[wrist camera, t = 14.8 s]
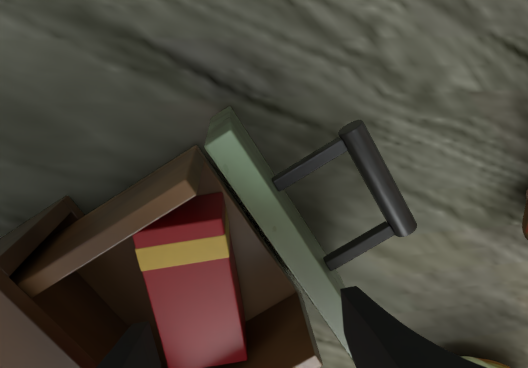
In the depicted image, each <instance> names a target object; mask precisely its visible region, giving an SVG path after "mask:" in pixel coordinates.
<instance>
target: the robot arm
mask: <svg viewBox="0 0 528 368" xmlns="http://www.w3.org/2000/svg"><path fill="white" fill-rule="evenodd" d="M340 292H341V304H342V316H343V328H344V335H345V338H346V341H347V344H348V347H349V350H350V353H351V356H352V359H353V361H354V363H355V365H356V368H487V367H484V366H482V365H479V364H476V363H474V362H472V361H469V360H467V359H465V358H462V357H460V356H458V355H456V354H454V353H452V352H450V351H448V350H445V349H444V348H442V347H440V346H438V345H436V344H434V343H432V342H431V341H429V340H427V339H426V338H424V337H422V336H420V335H419V334H417V333H416V332H414V331H412V330H411V329H410V328H408V327H407V326H405V325H404V324H402V323H401V322H400V321H398V320H397V319H396V318H394V317H393V316H392V315H390V314H389V313H388V312H387V311H385V310H384V309H383V308H382V307H380V306H379V305H378V304H377V303H376V302H374V301H373V300H372V299H371V298H370V297H369V296H367V295H366V294H365V293H364V292H363V291H362V290H361V289H359V288H358V287H357V286H354V287H348V288H342V289H340ZM96 368H161V363H160V359H159V355H158V352H157V348H156V345H155V341H154V338H153V334H152V331H151V327H150V324H149V321H146V322H140V323H134V324H132V325H131V326H130V327H129V328H128V329H127V331H126V332H125V333H124V334H123V336H122V337H121V338H120V339H119V341H118V342H117V343H116V344H115V346H114V347H113V348H112V349H111V350H110V352H109V353H108V354H107V355H106V356H105V358H104V359H103V360H102V361H101V362H100V364H99V365H98V366H97V367H96Z"/></svg>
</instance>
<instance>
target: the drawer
mask: <svg viewBox="0 0 528 368" xmlns="http://www.w3.org/2000/svg"><path fill="white" fill-rule="evenodd" d="M338 134H339V137H340V138H341V139H340V138H339V137H337V138H336V139H334V140H333V141H331V142H329V143H328V144H326V145H324V146H323V147H321V148H320V149H318V150H316V151H315V152H313V153H311V154H310V155H308V156H307V157H305V158H303V159H302V160H300V161H298V162H297V163H295V164H294V165H292V166H290V167H289V168H287V169H285V170H284V171H282V172H280V173H279V174H277V175H276V176H275V175H274V173H273V172H272V170H271V169H270V167H269V166H268V164H267V163H266V161H265V159H264V158H263V156H262V155H261V153H260V152H259V150H258V149H257V147H256V145H255V144H254V142H253V141H252V139H251V138H250V136H249V135H248V133H247V131H246V130H245V128H244V127H243V125H242V124H241V122H240V121H239V119H238V118H237V116H236V114H235V113H234V111H233V110H232V108H231V107H230V106H229V107H227V108H226V109H224V110H222V111H221V112H219V113H218V114H216V115H215V116H213V117H212V118H211V120H210V125H209V129H208V133H207V137H206V141H205V145H204V147H205V149H206V151H207V152H208V154H209V155H210V156H211V158H212V159H213V161H214V162H215V164H216V165H217V166H218V168H219V169H220V171H221V172H222V174H223V175H224V177H225V178H226V179H227V181H228V182H229V184H230V185H231V187H232V188H233V189H234V191H235V192H236V194H237V195H238V197H239V198H240V199H241V201H242V202H243V204H244V205H245V207H246V208H247V210H248V211H249V212H250V214H251V215H252V217H253V218H254V220H255V221H256V222H257V224H258V225H259V227H260V228H261V230H262V231H263V232H264V234H265V235H266V237H267V238H268V240H269V241H270V243H271V244H272V245H273V247H274V248H275V250H276V251H277V253H278V254H279V255H280V257H281V258H282V260H283V261H284V263H285V264H286V266H287V267H288V268H289V270H290V271H291V273H292V274H293V276H294V277H295V278H296V280H297V281H298V283H299V284H300V286H301V287H302V288H303V290H304V291H305V293H306V294H307V296H308V297H309V299H310V300H311V301H312V303H313V304H314V306H315V307H316V309H317V310H318V311H319V313H320V314H321V316H322V317H323V319H324V320H325V322H326V323H327V324H328V326H329V327H330V329H331V330H332V332H333V333H334V334H335V336H336V337H337V339H338V340H339V342H340V343H341V344H342V346H343V347H344V349H345V350H346V352H347V353H348V355H349V356H350V357H351V359H352V356H351V353H350V350H349V347H348V344H347V341H346V338H345V335H344V328H343V316H342V304H341V292H340V289H342V288H346V287H345V285H344V283H343V281H342V279H341V277H340V276H339V274H338V273H337V271H336V270H335V269H336V268H338V267H340V266H341V265H343V264H345V263H347V262H348V261H350V260H352V259H353V258H355V257H357V256H359V255H360V254H362V253H364V252H366V251H367V250H369V249H371V248H373V247H374V246H376V245H378V244H380V243H381V242H383V241H385V240H386V239H388V238H390V237H392V236H393V235H396V236H398V237H404V236H407V235H409V234H411V233H413V232H414V231H415V230H416V228H417V223H416V221H415V219H414V217H413V215H412V213H411V212H410V210H409V208H408V206H407V204H406V202H405V200H404V198H403V196H402V194H401V193H400V191H399V189H398V187H397V185H396V183H395V181H394V179H393V177H392V175H391V173H390V172H389V170H388V168H387V166H386V164H385V162H384V160H383V158H382V156H381V154H380V152H379V151H378V149H377V147H376V145H375V143H374V141H373V139H372V137H371V135H370V133H369V132H368V130H367V128H366V126H365V124H364V122H363V121H362V120H356V121H353V122H351V123H349V124H347V125H345V126H344V127H343V128H342V129H341V130H340V131H339V133H338ZM346 151H348V153H349V155H350V156H351V158H352V160H353V162H354V164H355V165H356V167H357V169H358V171H359V173H360V174H361V176H362V178H363V180H364V182H365V183H366V185H367V187H368V189H369V190H370V192H371V194H372V196H373V198H374V199H375V201H376V203H377V205H378V207H379V208H380V210H381V212H382V214H383V216H384V217H385V219H386V221H387V222H386V221H385V222H383V223H381V224H380V225H378V226H376V227H374V228H373V229H371V230H369V231H367V232H366V233H364V234H362V235H361V236H359V237H357V238H355V239H354V240H352V241H350V242H349V243H347V244H345V245H343V246H342V247H340V248H338V249H337V250H335V251H333V252H331V253H330V254H328V255H326V254H325V253H324V251H323V249H322V248H321V246H320V245H319V243H318V242H317V240H316V239H315V237H314V236H313V234H312V232H311V231H310V229H309V228H308V226H307V225H306V223H305V222H304V220H303V218H302V217H301V215H300V214H299V212H298V211H297V209H296V208H295V206H294V204H293V203H292V201H291V200H290V198H289V197H288V195H287V194H286V192H285V190H284V189H285V188H287V187H288V186H290V185H292V184H293V183H295V182H296V181H298V180H300V179H301V178H303V177H305V176H306V175H308V174H310V173H311V172H313V171H315V170H316V169H318V168H319V167H321V166H323V165H324V164H326V163H328V162H329V161H331V160H333V159H334V158H336V157H338V156H339V155H341V154H342V153H344V152H346ZM219 192H222V193H223V196H224V201H225V206H226V209H227V215H228V220H229V229H230V235H231V241H232V246H233V252H234V258H235V263H236V269H237V274H238V280H239V286H240V291H241V297H242V303H243V308H244V314H245V323H246V338H247V353H248V359H247V360H246V361H240V362H235V363H229V364H223V365H217V366H211V367H205V368H320V367H322V366H323V364H322V360H321V357H320V354H319V350H318V347H317V344H316V340H315V337H314V334H313V331H312V327H311V324H310V321H309V317H308V314H307V311H306V307H305V304H304V301H303V298H302V295H301V292H300V291H299V290H298V288H297V287H296V285H295V284H294V282H293V281H292V280H291V278H290V277H289V275H288V274H287V272H286V271H285V270H284V268H283V267H282V265H281V264H280V262H279V261H278V260H277V258H276V257H275V255H274V254H273V253H272V251H271V250H270V248H269V247H268V245H267V244H266V243H265V241H264V240H263V238H262V237H261V235H260V234H259V233H258V231H257V230H256V228H255V227H254V225H253V224H252V223H251V221H250V220H249V218H248V217H247V215H246V214H245V213H244V211H243V210H242V208H241V207H240V205H239V204H238V203H237V201H236V200H235V198H234V197H233V196H232V194H231V193H230V191H229V190H228V188H227V187H226V186H225V184H224V183H223V181H222V180H221V178H220V177H219V176H218V174H217V173H216V171H215V170H214V168H213V167H212V166H211V164H210V163H209V161H208V160H207V158H206V157H205V156H204V154H203V153H202V151H201V150H200V149H199V147H198V146H197V145H195V146H193V147H192V148H190V149H189V150H187V151H185V152H184V153H182V154H181V155H179V156H178V157H176V158H175V159H173V160H171V161H170V162H168V163H167V164H165V165H164V166H162V167H160V168H159V169H157V170H156V171H154V172H153V173H151V174H149V175H148V176H146V177H145V178H143V179H142V180H140V181H138V182H137V183H135V184H134V185H132V186H131V187H129V188H128V189H126V190H124V191H123V192H121V193H120V194H118V195H117V196H115V197H113V198H112V199H110V200H109V201H107V202H106V203H104V204H102V205H101V206H99V207H98V208H96V209H95V210H93V211H91V212H90V213H88V214H87V215H85V216H84V217H82V218H81V219H79V220H77V221H76V222H74V223H73V224H71V225H70V226H68V227H66V228H65V229H63V230H62V231H60V232H59V233H57V234H55V235H54V236H52V237H51V238H49V239H48V240H46V241H44V242H43V243H42V244H41V245H40V247H39V248H38V249H36V250H35V252H34V253H33V254H32V255H31V256H30V257H29V258H28V259H27V260H26V261H25V262H24V263H23V264H22V265H21V266H20V267H19V268H18V269H17V270H16V271H15V272H14V273H13V275H12V276H11V277H10V279H11V280H12V281H13V282H14V283H15V284H16V285H17V286H18V287H19V288H20V289H21V290H22V291H23V292H24V293H25V294H26V295H27V296H28V297H29V298H30V299H31V300H32V301H34V302H35V303H36V304H37V305H38V306H39V307H40V308H41V309H42V310H43V311H44V312H45V313H46V314H47V315H48V316H49V317H50V318H51V319H52V320H53V321H54V322H55V323H56V324H57V325H58V326H59V327H60V328H61V329H62V330H63V331H64V332H65V333H66V334H67V335H68V336H69V337H70V338H71V339H72V340H73V341H74V342H75V343H76V344H78V345H79V346H80V347H81V348H82V349H83V350H84V351H85V352H86V353H87V354H88V355H89V356H90V357H91V358H92V359H93V360H94V361H95V362H96V363H97V364H98V365H99V364H100V362H101V361H102V360H103V359H104V358H105V356H106V355H107V354H108V353H109V352H110V350H111V349H112V348H113V347H114V346H115V344H116V343H117V342H118V341H119V339H120V338H121V337H122V336H123V334H124V333H125V332H126V331H127V329H128V328H129V327H130V326H131V325H132V324H134V323H140V322H146V321H149V324H150V327H151V331H152V334H153V338H154V341H155V345H156V348H157V352H158V355H159V359H160V363H161V368H168V366H167V362H166V358H165V355H164V351H163V347H162V344H161V340H160V336H159V333H158V329H157V325H156V322H155V318H154V314H153V311H152V307H151V303H150V300H149V296H148V292H147V289H146V285H145V281H144V278H143V274H142V271H141V270H140V267H139V263H138V259H137V256H136V252H135V245H134V241H133V237H132V235H134V234H135V233H137V232H138V231H140V230H142V229H143V228H145V227H147V226H148V225H150V224H151V223H153V222H155V221H156V220H158V219H159V218H161V217H163V216H164V215H166V214H167V213H169V212H171V211H172V210H174V209H175V208H177V207H179V206H180V205H182V204H183V203H185V202H187V201H188V200H190V199H191V198H193V197H195V196H200V195H206V194H213V193H219ZM352 360H353V359H352ZM353 362H354V361H353Z"/></svg>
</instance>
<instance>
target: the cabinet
mask: <svg viewBox="0 0 528 368" xmlns="http://www.w3.org/2000/svg"><path fill="white" fill-rule="evenodd" d="M84 216H85V214H84V213H83V212H82V211H81V210H80V209H79V208H78V206H77V205H76V204H75V203H74V202H73V201H72V200H71V198H70V197H69V196H68V195H67V196H65V197H63V198H62V199H60V200H59V201H57V202H56V203H54V204H53V205H51V206H49V207H48V208H46V209H45V210H43V211H42V212H40V213H39V214H37V215H36V216H34V217H33V218H31V219H29V220H28V221H26V222H25V223H23V224H22V225H20V226H19V227H17V228H16V229H14V230H12V231H11V232H9V233H8V234H6V235H5V236H3V237H2V238H0V368H96V367H97V366H98V364H97V363H96V362H95V361H94V360H93V359H92V358H91V357H90V356H89V355H88V354H87V353H86V352H85V351H84V350H83V349H82V348H81V347H80V346H79V345H78V344H76V343H75V342H74V341H73V340H72V339H71V338H70V337H69V336H68V335H67V334H66V333H65V332H64V331H63V330H62V329H61V328H60V327H59V326H58V325H57V324H56V323H55V322H54V321H53V320H52V319H51V318H50V317H49V316H48V315H47V314H46V313H45V312H44V311H43V310H42V309H41V308H40V307H39V306H38V305H37V304H36V303H35V302H34V301H32V300H31V299H30V298H29V297H28V296H27V295H26V294H25V293H24V292H23V291H22V290H21V289H20V288H19V287H18V286H17V285H16V284H15V283H14V282H13V281H12V280H11V279H10V277H11V276H12V275H13V273H14V272H15V271H16V270H17V269H18V268H19V267H20V266H21V265H22V264H23V263H24V262H25V261H26V260H27V259H28V258H29V257H30V256H31V255H32V254H33V253H34V252H35V250H36V249H38V248H39V247H40V245H41V244H42V243H43V242H44V241H46V240H48V239H49V238H51V237H52V236H54V235H55V234H57V233H59V232H60V231H62V230H63V229H65V228H66V227H68V226H70V225H71V224H73V223H74V222H76V221H77V220H79V219H81V218H82V217H84Z"/></svg>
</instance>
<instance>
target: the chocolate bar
mask: <svg viewBox="0 0 528 368" xmlns="http://www.w3.org/2000/svg"><path fill="white" fill-rule="evenodd" d="M132 237H133V241H134V245H135V252H136V256H137V259H138V263H139V267H140V270H141V271H142V274H143V278H144V281H145V285H146V289H147V292H148V296H149V300H150V303H151V307H152V311H153V314H154V318H155V322H156V325H157V329H158V333H159V336H160V340H161V344H162V347H163V351H164V355H165V358H166V362H167V366H168V368H205V367H211V366H217V365H223V364H229V363H235V362H240V361H246V360H247V359H248V353H247V338H246V323H245V314H244V308H243V303H242V297H241V291H240V286H239V280H238V274H237V269H236V263H235V258H234V252H233V246H232V241H231V235H230V229H229V220H228V215H227V209H226V206H225V201H224V196H223V193H222V192H219V193H213V194H206V195H200V196H195V197H193V198H191V199H190V200H188V201H187V202H185V203H183V204H182V205H180V206H179V207H177V208H175V209H174V210H172V211H171V212H169V213H167V214H166V215H164V216H163V217H161V218H159V219H158V220H156V221H155V222H153V223H151V224H150V225H148V226H147V227H145V228H143V229H142V230H140V231H138V232H137V233H135V234H134V235H132Z"/></svg>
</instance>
